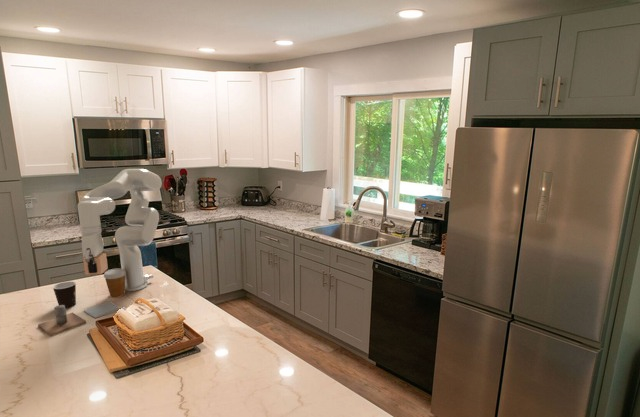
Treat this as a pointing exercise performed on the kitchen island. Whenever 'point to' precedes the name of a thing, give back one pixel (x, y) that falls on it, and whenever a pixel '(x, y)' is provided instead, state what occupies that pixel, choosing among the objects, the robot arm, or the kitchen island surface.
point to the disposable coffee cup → (115, 282)
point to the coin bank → (97, 264)
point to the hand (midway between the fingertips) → (96, 269)
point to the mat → (102, 309)
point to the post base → (61, 328)
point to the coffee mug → (66, 293)
